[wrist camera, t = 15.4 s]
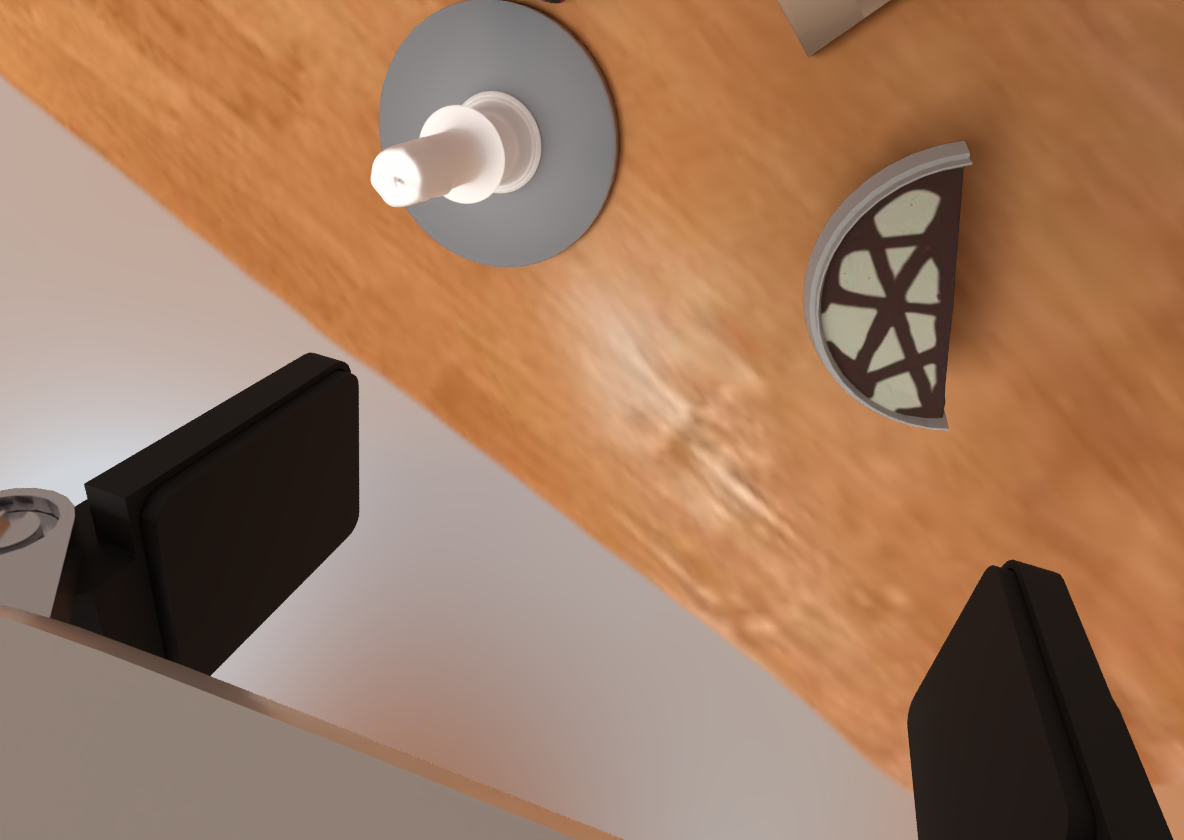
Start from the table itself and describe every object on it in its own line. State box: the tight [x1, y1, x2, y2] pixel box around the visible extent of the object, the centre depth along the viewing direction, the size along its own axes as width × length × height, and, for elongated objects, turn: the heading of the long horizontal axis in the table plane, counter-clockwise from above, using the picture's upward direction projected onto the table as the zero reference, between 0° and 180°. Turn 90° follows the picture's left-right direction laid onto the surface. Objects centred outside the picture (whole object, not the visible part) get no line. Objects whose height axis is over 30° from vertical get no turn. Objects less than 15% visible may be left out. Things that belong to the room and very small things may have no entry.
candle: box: [371, 91, 541, 207], centre depth 36 cm, size 5×5×12 cm
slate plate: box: [379, 0, 619, 267], centre depth 41 cm, size 14×14×1 cm
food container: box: [803, 141, 972, 431], centre depth 35 cm, size 12×6×10 cm, turn 8°
